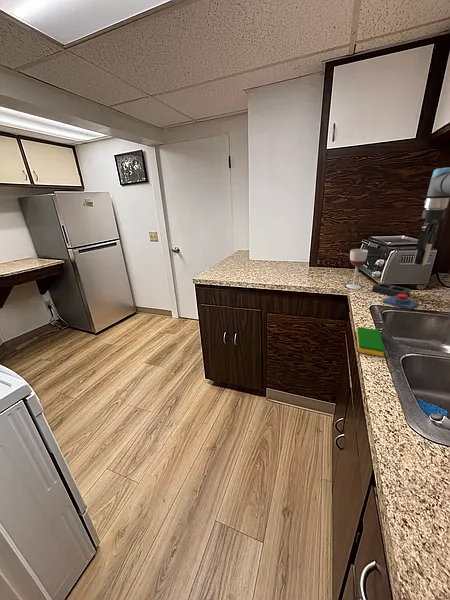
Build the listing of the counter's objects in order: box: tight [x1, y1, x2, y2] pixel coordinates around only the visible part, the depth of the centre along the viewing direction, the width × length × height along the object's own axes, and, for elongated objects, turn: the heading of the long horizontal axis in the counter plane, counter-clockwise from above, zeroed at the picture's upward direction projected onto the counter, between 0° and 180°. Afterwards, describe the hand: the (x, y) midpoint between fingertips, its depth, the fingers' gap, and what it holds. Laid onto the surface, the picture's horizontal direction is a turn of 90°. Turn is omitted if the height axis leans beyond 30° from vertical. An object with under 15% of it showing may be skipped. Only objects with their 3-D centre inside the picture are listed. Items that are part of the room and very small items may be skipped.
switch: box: [397, 294, 408, 300], centre depth 112 cm, size 4×4×2 cm
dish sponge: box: [356, 326, 385, 357], centre depth 85 cm, size 7×14×2 cm, turn 156°
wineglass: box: [345, 248, 369, 290], centre depth 133 cm, size 8×9×20 cm
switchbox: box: [382, 295, 419, 311], centre depth 113 cm, size 11×8×3 cm
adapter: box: [371, 282, 411, 297], centre depth 125 cm, size 14×8×3 cm, turn 35°
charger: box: [412, 244, 433, 266], centre depth 112 cm, size 4×4×9 cm
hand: (420, 262), depth 113 cm, fingers closed on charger, 4 cm apart
